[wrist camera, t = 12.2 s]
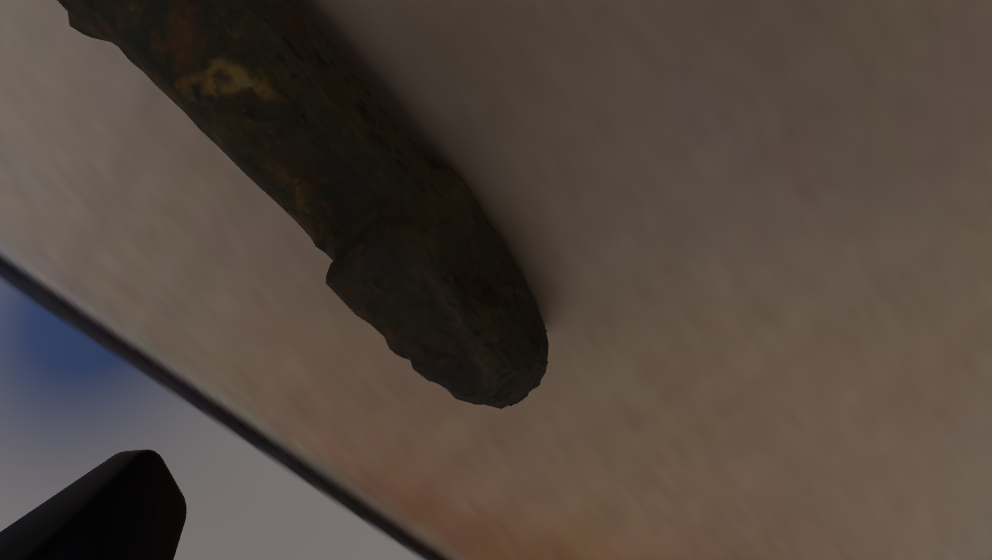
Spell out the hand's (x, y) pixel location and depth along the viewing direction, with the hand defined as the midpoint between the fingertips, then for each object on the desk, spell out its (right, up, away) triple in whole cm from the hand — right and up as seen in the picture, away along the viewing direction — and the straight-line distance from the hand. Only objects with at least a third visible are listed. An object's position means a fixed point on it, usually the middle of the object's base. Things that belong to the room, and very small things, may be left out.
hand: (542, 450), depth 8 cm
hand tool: (-5, +7, +11) cm, 14 cm away
